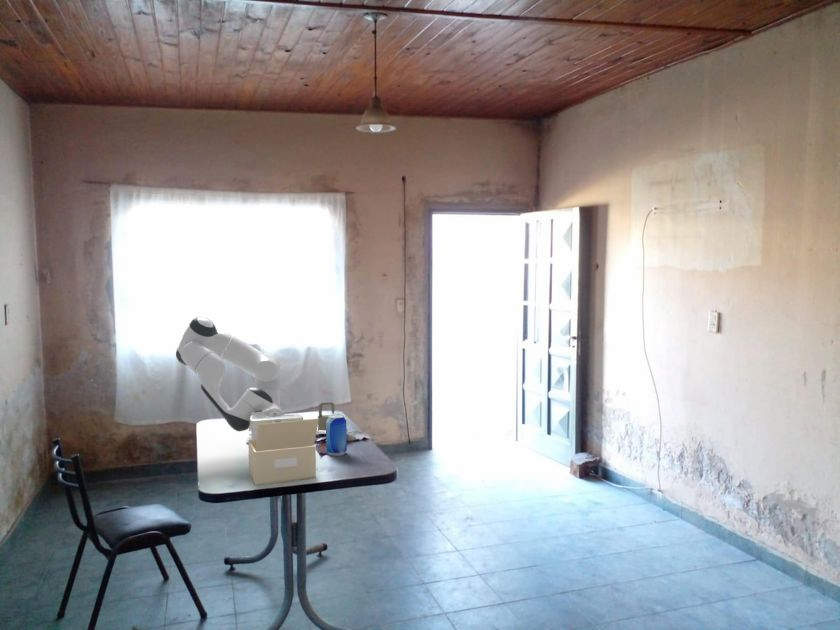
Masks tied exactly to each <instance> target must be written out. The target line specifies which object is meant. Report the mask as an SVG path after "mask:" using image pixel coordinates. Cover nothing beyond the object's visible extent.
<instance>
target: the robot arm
mask: <svg viewBox="0 0 840 630" xmlns="http://www.w3.org/2000/svg"><path fill="white" fill-rule="evenodd" d="M175 358H176V359H177V361H178V362H179V364H182V365H185V366H187V367H188V368H190V370H191V371H193V373H195V374H196V375H197V376H198V378H199V379H200V382H201V384H200V389H201V391H202V392H203V394H204V395H205V396H206V397H207V399H208V400H209V401H210V402H211V404H212V406H213V407H215V409H216V410H217V411H218V412H219V413H220V415H222V417H223V419H224V420H225V421H226V423H227V424H228V425H229V427H230V428H232V429H233V430H235V431H236V432H243V431H246V430H248V432H249V433H248V436H247V439H246V444H247V445H249V440H255V439H257V431H258V424H260V423H272V422H284V421H296V420H304V417H303V415H300V414H298V413H291V414H290V413H289V414H285V413H284V411H283V410H282V409H281V390H280V389H281V388H280V385H281V383H280V380H281V379H280V377H281V376H280V375H281V374H280V361H279V359H278V358H277V357H276V355H274V354H272V353H269V352H268V353H267V352H266V353H264V352H262V351H260V350H259V349H257V348H255V347H254V346H252V345H251V344H249V343H247V342H245V341H244V340H242V339H240V338H238V337H235V336H234V335H232V334H230V333H227V332H225V331H223V330H220V329H217V328H216V325H215V324H214V322H213V321H212V320H210V319H209V318H206V317H204V316H197V317H194V318H193V319H192V320H191V321H190V322H189V326H187V328H186V330H185V332H184V333H183V335H182V337H181V341H180V342H179V345H178V347H177V348H176V352H175ZM224 361H225V362H228V363H229V364H231V365H233V366H235V367H237V368H238V369H240V370H241V371H243V372H245V373H246V374H248V375H250V376H252V377H253V378H254V387H248V388H247V389H246V391H244V393H243V394H242V395H241V397H240V398H239V399H238V400H237V402H236V403H235V404H234V405H233V406H232V407H230V405H229V404H228V403H227V402H226V401H225V400H224V398H223V397H222V396H221V394H220V387H221V383H222V382H223V379H224V377H225V376H224V375H225V370H226V368H225V367H226V366H225V363H224Z"/></svg>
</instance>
